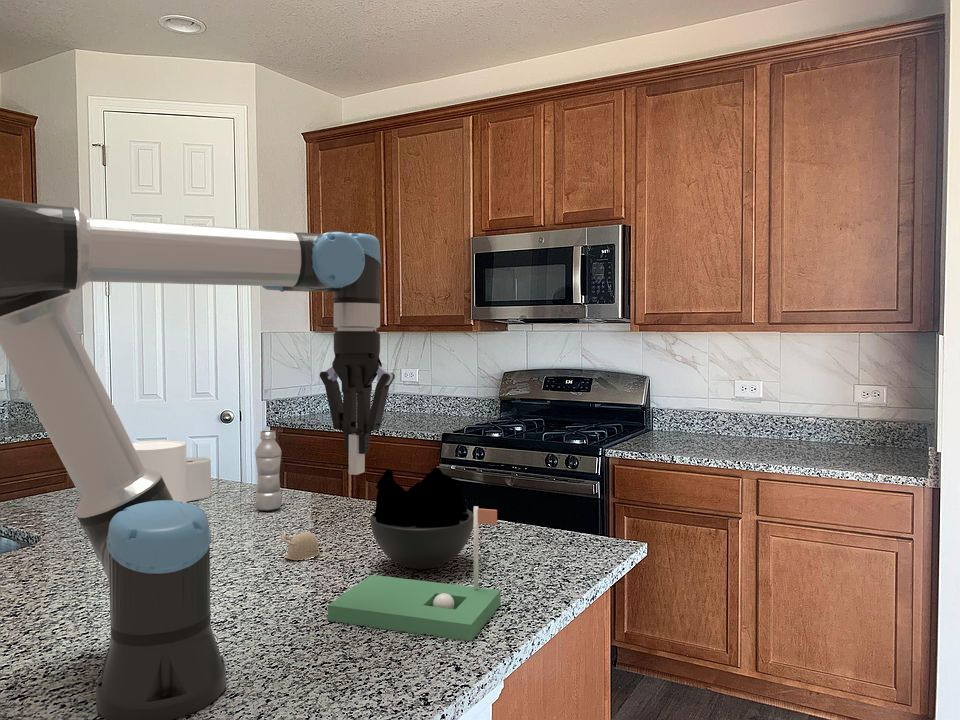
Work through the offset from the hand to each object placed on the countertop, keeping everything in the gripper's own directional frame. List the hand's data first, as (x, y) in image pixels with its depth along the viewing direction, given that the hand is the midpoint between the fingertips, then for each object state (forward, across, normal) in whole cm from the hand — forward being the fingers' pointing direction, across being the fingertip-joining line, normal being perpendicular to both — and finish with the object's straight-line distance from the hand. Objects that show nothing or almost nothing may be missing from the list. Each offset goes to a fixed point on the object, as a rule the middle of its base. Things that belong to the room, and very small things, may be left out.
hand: (356, 472), depth 122 cm
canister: (+23, +64, -23) cm, 72 cm away
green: (+22, -10, -1) cm, 25 cm away
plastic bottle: (+23, +52, -49) cm, 75 cm away
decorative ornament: (+23, +23, -19) cm, 38 cm away
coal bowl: (+22, -2, -22) cm, 32 cm away
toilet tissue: (+23, +81, -54) cm, 100 cm away
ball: (+21, -15, -2) cm, 25 cm away
